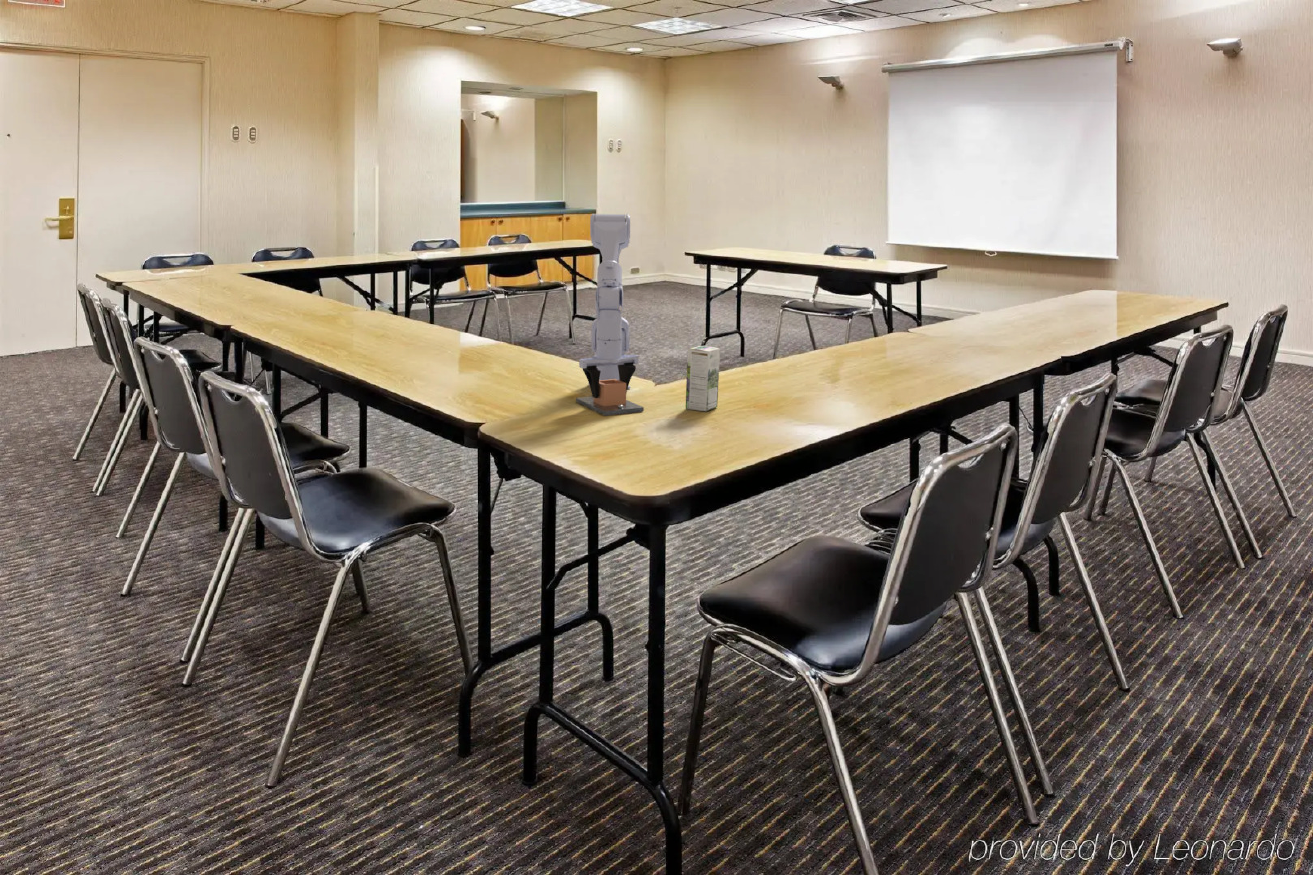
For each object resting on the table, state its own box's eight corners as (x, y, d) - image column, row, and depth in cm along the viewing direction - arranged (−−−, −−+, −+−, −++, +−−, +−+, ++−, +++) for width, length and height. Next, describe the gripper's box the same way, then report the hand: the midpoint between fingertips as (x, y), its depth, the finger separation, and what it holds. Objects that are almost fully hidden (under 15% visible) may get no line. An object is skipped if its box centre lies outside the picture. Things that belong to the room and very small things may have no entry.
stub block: (576, 402, 237) (576, 389, 236) (613, 398, 241) (613, 386, 241) (604, 415, 223) (604, 402, 222) (643, 411, 228) (643, 398, 227)
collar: (593, 401, 233) (593, 380, 232) (615, 399, 236) (615, 378, 234) (603, 406, 228) (603, 385, 227) (626, 404, 231) (626, 383, 229)
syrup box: (696, 404, 236) (698, 344, 232) (718, 407, 233) (720, 347, 229) (685, 409, 231) (686, 348, 227) (707, 412, 228) (708, 350, 224)
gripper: (588, 343, 221) (588, 402, 225) (644, 339, 228) (644, 396, 232) (575, 338, 227) (575, 396, 231) (631, 335, 234) (630, 390, 238)
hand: (609, 395), depth 232 cm, fingers open, 7 cm apart
